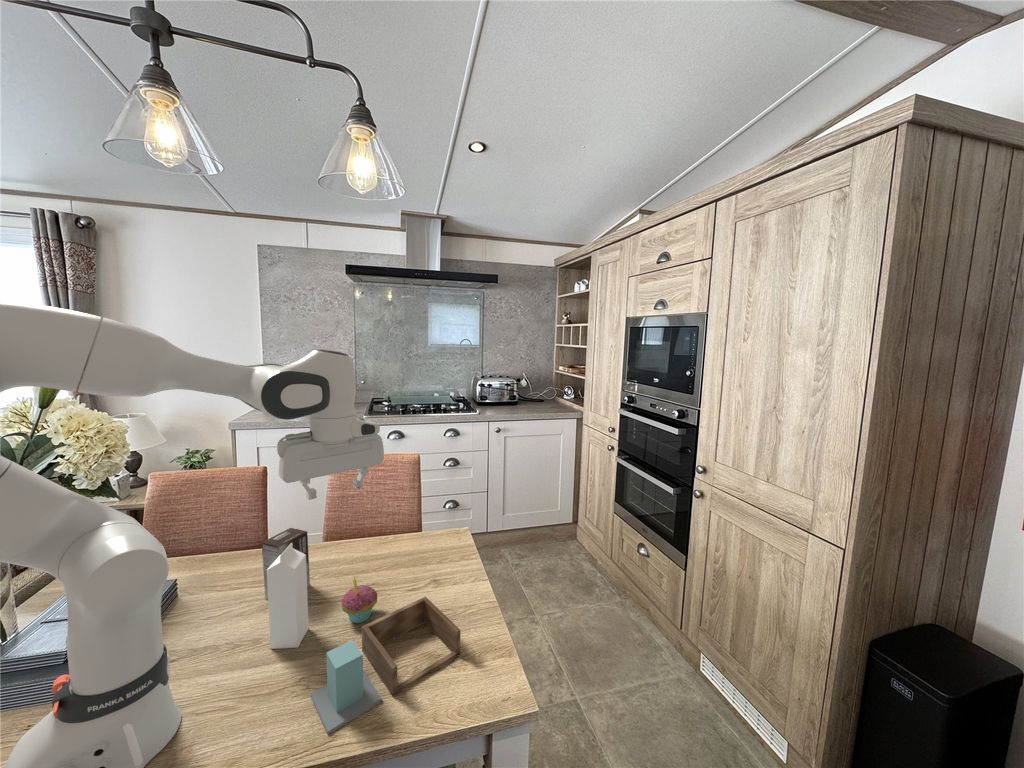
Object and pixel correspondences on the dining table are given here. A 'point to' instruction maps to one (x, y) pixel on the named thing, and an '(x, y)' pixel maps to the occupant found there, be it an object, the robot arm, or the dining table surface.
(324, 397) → the robot arm
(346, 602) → the cupcake
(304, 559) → the milk
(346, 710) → the mat
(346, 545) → the dining table surface
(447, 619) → the crate
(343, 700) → the block
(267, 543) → the coffee box
